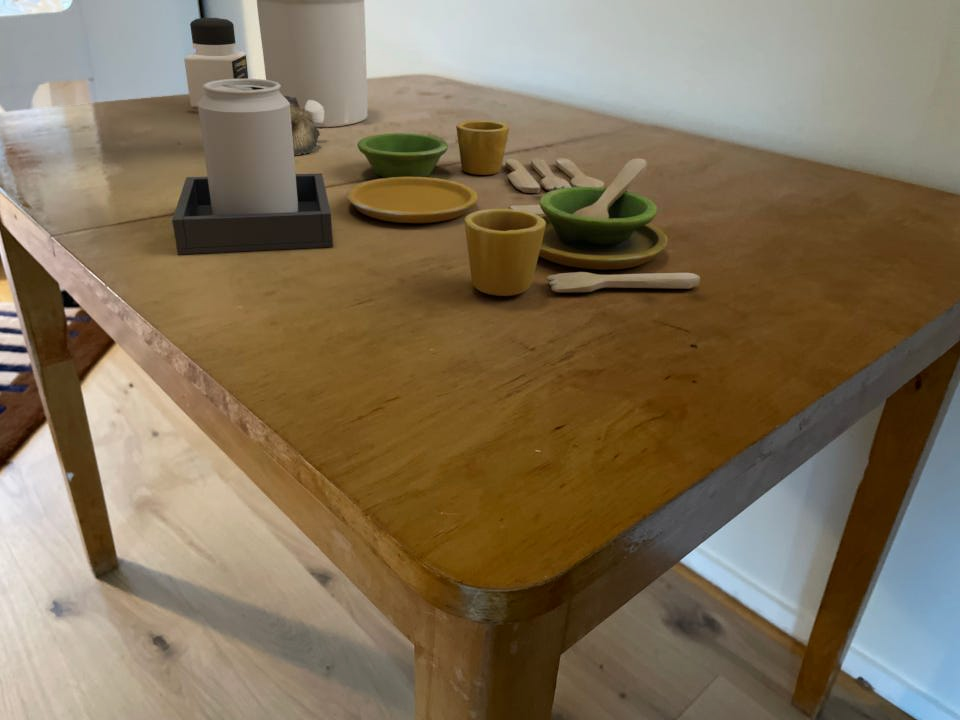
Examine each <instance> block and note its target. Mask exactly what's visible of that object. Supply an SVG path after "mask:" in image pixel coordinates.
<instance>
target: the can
mask: <svg viewBox="0 0 960 720" xmlns="http://www.w3.org/2000/svg"><path fill="white" fill-rule="evenodd" d="M280 87H281V85H280V84H279V83H277V82H274V81H270V80H266V79H261V78H248V79H224V80H217V81H211V82H208V83H206V84H204V85H203V88H204V89H205V90H206V93H205V94H204V96H203V97H202V98H201V100H200V101H199V102H198V107H197V109H198V110H197V111H198V116H199V124H200V133H201V139H202V146H203V154H204V162H205V170H206V175H207V176H206V177H208V184H209V192H210V199H211V206H212V214H213V215H235V214H261V213H287V212H298V199H297V187H296V174H297V173H296V162H295V155H294V149H293V137H292V124H291V112H290V103H289V102H288V100H287V99H286V98H285V97H284V96H283V95H282V94H281V93H280V92H279V89H280Z"/></svg>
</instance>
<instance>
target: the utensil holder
mask: <svg viewBox="0 0 960 720" xmlns="http://www.w3.org/2000/svg"><path fill="white" fill-rule="evenodd" d="M256 7H257V16H258V17H257V18H258V24H259V32H260V33H259V34H260V39H261V40H260V41H261V48H262V49H261V50H262V57H263V66H264V75H265V80H270V81H274V82H277V83H279V84H280V85H281V87H280V89H279V92H280V93H281V94H282V95H284V96H289V97H295V98H296V100H297V101H298V104H299V106H300V109H301V111H302V110H303V109H304V107H305V104H306V102H307V101H308V100H314V101H316V102H318V103H320V104H321V105H322V106H323V109H324V112H325V114H324V121H323V123H320V124H318V123H313V125H314V126H315V128H337V127H343V126H349V125H354V124H357V123H361V122H363V121H364V120H366V119H367V117H368V74H367V73H368V70H367V39H366V37H367V36H366V12H365V11H366V9H365V0H256ZM311 123H312V122H311Z"/></svg>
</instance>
